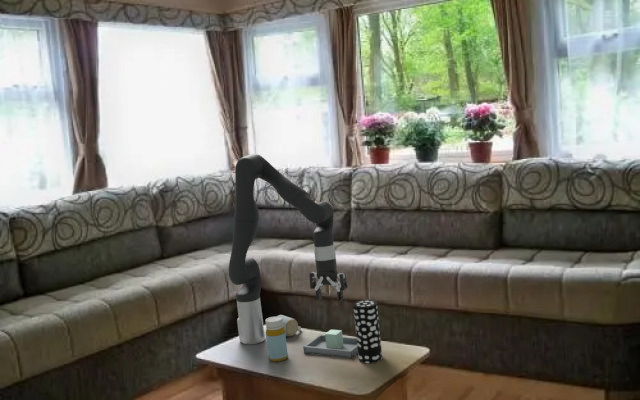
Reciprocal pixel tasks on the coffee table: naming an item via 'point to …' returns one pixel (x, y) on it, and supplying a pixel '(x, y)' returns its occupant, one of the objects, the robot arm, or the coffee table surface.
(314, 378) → the coffee table surface
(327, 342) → the sage block
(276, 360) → the bottle
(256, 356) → the coffee table surface
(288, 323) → the ceramic mug
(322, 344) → the gray tray
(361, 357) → the white-spotted black cylinder
